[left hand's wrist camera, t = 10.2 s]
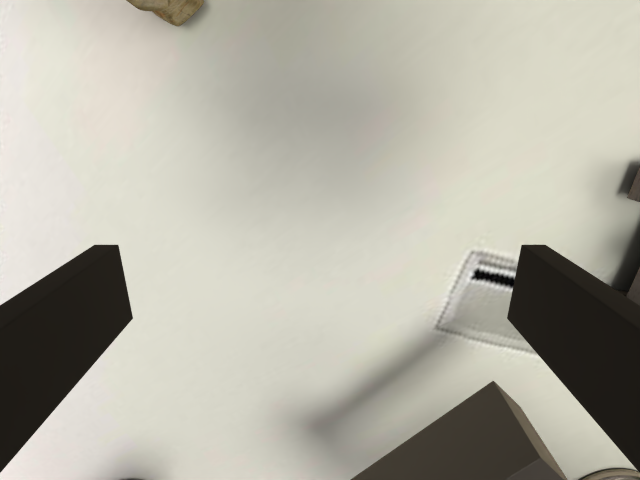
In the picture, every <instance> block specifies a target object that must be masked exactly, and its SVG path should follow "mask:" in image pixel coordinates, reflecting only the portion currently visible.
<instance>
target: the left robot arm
mask: <svg viewBox="0 0 640 480" xmlns="http://www.w3.org/2000/svg"><path fill="white" fill-rule="evenodd" d="M132 319H133V317H132V312H131V307H130V302H129V297H128V292H127V287H126V282H125V276H124V271H123V266H122V261H121V256H120V251H119V246H118V245H94V246H92V247H91V248H89V249H88V250H86V251H84V252H83V253H81V254H80V255H78V256H77V257H75V258H74V259H72V260H70V261H69V262H67V263H66V264H64V265H63V266H61V267H60V268H58V269H56V270H55V271H53V272H52V273H50V274H49V275H47V276H45V277H44V278H42V279H41V280H39V281H38V282H36V283H35V284H33V285H31V286H30V287H28V288H27V289H25V290H24V291H22V292H21V293H19V294H17V295H16V296H14V297H13V298H11V299H10V300H8V301H7V302H5V303H3V304H2V305H0V472H1V471H2V470H3V469H4V468H5V467H6V465H7V464H8V463H9V462H10V461H11V460H12V458H13V457H14V456H15V455H16V454H17V453H18V451H19V450H20V449H21V448H22V447H23V446H24V444H25V443H26V442H27V441H28V440H29V439H30V437H31V436H32V435H33V434H34V433H35V432H36V430H37V429H38V428H39V427H40V426H41V425H42V423H43V422H44V421H45V420H46V419H47V418H48V416H49V415H50V414H51V413H52V412H53V411H54V410H55V408H56V407H57V406H58V405H59V404H60V403H61V401H62V400H63V399H64V398H65V397H66V396H67V394H68V393H69V392H70V391H71V390H72V389H73V387H74V386H75V385H76V384H77V383H78V382H79V380H80V379H81V378H82V377H83V376H84V375H85V373H86V372H87V371H88V370H89V369H90V368H91V366H92V365H93V364H94V363H95V362H96V361H97V359H98V358H99V357H100V356H101V355H102V354H103V352H104V351H105V350H106V349H107V348H108V347H109V345H110V344H111V343H112V342H113V341H114V340H115V338H116V337H117V336H118V335H119V334H120V333H121V331H122V330H123V329H124V328H125V327H126V326H127V324H128V323H129V322H130V321H131V320H132ZM507 319H508V320H509V321H510V322H511V323H512V324H513V326H514V327H515V328H516V329H517V330H518V331H519V333H520V334H521V335H522V336H523V337H524V338H525V340H526V341H527V342H528V343H529V344H530V345H531V347H532V348H533V349H534V350H535V351H536V352H537V354H538V355H539V356H540V357H541V358H542V359H543V361H544V362H545V363H546V364H547V365H548V366H549V368H550V369H551V370H552V371H553V372H554V373H555V375H556V376H557V377H558V378H559V379H560V380H561V382H562V383H563V384H564V385H565V386H566V387H567V389H568V390H569V391H570V392H571V393H572V394H573V396H574V397H575V398H576V399H577V400H578V401H579V403H580V404H581V405H582V406H583V407H584V408H585V410H586V411H587V412H588V413H589V414H590V415H591V416H592V418H593V419H594V420H595V421H596V422H597V423H598V425H599V426H600V427H601V428H602V429H603V430H604V432H605V433H606V434H607V435H608V436H609V437H610V439H611V440H612V441H613V442H614V443H615V444H616V446H617V447H618V448H619V449H620V450H621V451H622V453H623V454H624V455H625V456H626V457H627V458H628V460H629V461H630V462H631V463H632V464H633V465H634V467H635V468H636V469H637V470H638V471H639V472H640V305H638V304H637V303H635V302H633V301H632V300H630V299H629V298H627V297H626V296H624V295H623V294H621V293H619V292H618V291H616V290H615V289H613V288H612V287H610V286H609V285H607V284H605V283H604V282H602V281H601V280H599V279H598V278H596V277H595V276H593V275H591V274H590V273H588V272H587V271H585V270H584V269H582V268H580V267H579V266H577V265H576V264H574V263H573V262H571V261H570V260H568V259H566V258H565V257H563V256H562V255H560V254H559V253H557V252H556V251H554V250H552V249H551V248H549V247H548V246H546V245H522V246H521V251H520V256H519V261H518V266H517V271H516V276H515V282H514V287H513V292H512V297H511V302H510V307H509V312H508V317H507Z"/></svg>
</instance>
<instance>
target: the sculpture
mask: <svg viewBox="0 0 640 480" xmlns="http://www.w3.org/2000/svg"><path fill="white" fill-rule="evenodd" d="M127 1H128V2H129V3H131V4H132V5H133V6H135V7H136V8H138V9H140V10H144V11H152V12H154V13H155V14H156V15H157V16H159V17H160V18H162V19H163V20H165V21H167V22H168V23H170V24H172V25H175V26H180V25H181V24H183V23H184V22H185V21H187V20H188V19H189V18H190V17H191V16H192V15H193V14H194V13H195V12H196V11H197V10H198V9H199V8H200V7H201V6H202V5H203V3H204V0H127Z"/></svg>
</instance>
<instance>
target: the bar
mask: <svg viewBox="0 0 640 480" xmlns="http://www.w3.org/2000/svg"><path fill="white" fill-rule="evenodd" d="M351 480H567V478H566V477H565V475H564V473H563V472H562V470H561V469H560V467H559V466H558V464H557V463H556V461H555V460H554V458H553V457H552V455H551V453H550V452H549V450H548V449H547V447H546V446H545V444H544V443H543V441H542V440H541V438H540V437H539V435H538V433H537V432H536V430H535V429H534V427H533V426H532V424H531V423H530V421H529V420H528V418H527V417H526V415H525V413H524V412H523V410H522V409H521V407H520V406H519V405H518V404H517V403H516V402H515V401H514V400H513V399H512V398H511V397H510V396H509V395H508V394H506V393H505V392H504V391H503V390H502V389H501V388H500V387H499V386H498V385H497V384H496V383H495V382H494V381H492V382H491V383H489V384H488V385H487V386H485V387H484V388H482V389H481V390H479V391H478V392H476V393H475V394H474V395H472V396H471V397H469V398H468V399H466V400H465V401H463V402H462V403H461V404H459V405H458V406H456V407H455V408H453V409H452V410H450V411H449V412H448V413H446V414H445V415H443V416H442V417H440V418H439V419H437V420H436V421H435V422H433V423H432V424H430V425H429V426H427V427H426V428H425V429H423V430H422V431H420V432H419V433H417V434H416V435H414V436H413V437H412V438H410V439H409V440H407V441H406V442H404V443H403V444H401V445H400V446H399V447H397V448H396V449H394V450H393V451H391V452H390V453H388V454H387V455H386V456H384V457H383V458H381V459H380V460H378V461H377V462H375V463H374V464H373V465H371V466H370V467H368V468H367V469H365V470H364V471H362V472H361V473H360V474H358V475H357V476H355V477H354V478H352V479H351Z"/></svg>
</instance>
